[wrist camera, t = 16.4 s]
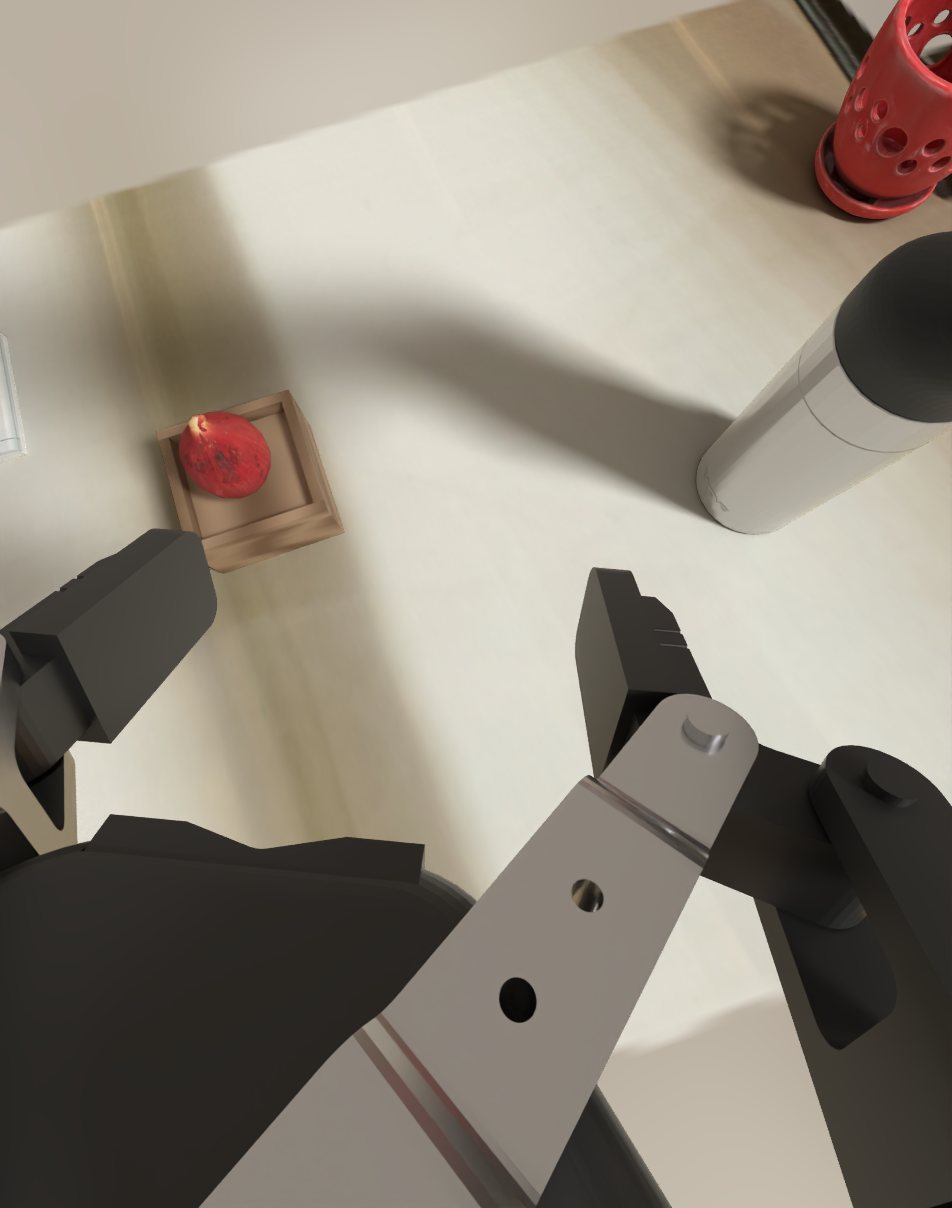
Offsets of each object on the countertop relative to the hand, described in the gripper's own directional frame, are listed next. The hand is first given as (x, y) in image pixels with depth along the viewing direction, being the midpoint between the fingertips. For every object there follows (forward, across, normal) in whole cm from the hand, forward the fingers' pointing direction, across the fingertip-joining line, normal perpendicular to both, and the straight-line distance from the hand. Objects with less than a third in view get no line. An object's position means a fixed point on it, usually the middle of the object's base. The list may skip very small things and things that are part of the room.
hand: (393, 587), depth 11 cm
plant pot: (+58, -36, -15) cm, 70 cm away
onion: (+28, +17, +9) cm, 35 cm away
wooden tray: (+31, +18, +12) cm, 38 cm away
